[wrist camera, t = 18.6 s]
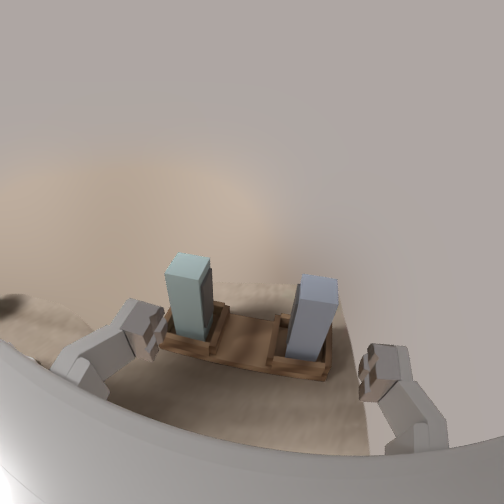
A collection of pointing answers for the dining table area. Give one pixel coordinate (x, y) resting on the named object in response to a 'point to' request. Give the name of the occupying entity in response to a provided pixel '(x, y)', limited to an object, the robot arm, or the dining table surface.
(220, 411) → the dining table surface
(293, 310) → the block
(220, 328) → the wooden double tray
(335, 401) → the dining table surface
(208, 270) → the teal rectangular block
